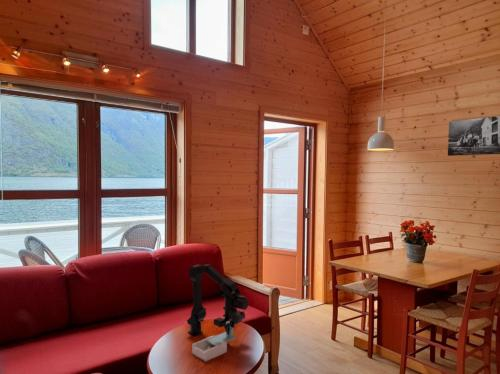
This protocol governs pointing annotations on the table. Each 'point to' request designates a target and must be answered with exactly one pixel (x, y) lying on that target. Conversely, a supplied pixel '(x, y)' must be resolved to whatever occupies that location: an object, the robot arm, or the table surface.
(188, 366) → the table surface
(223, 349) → the parts tub
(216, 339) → the lid
